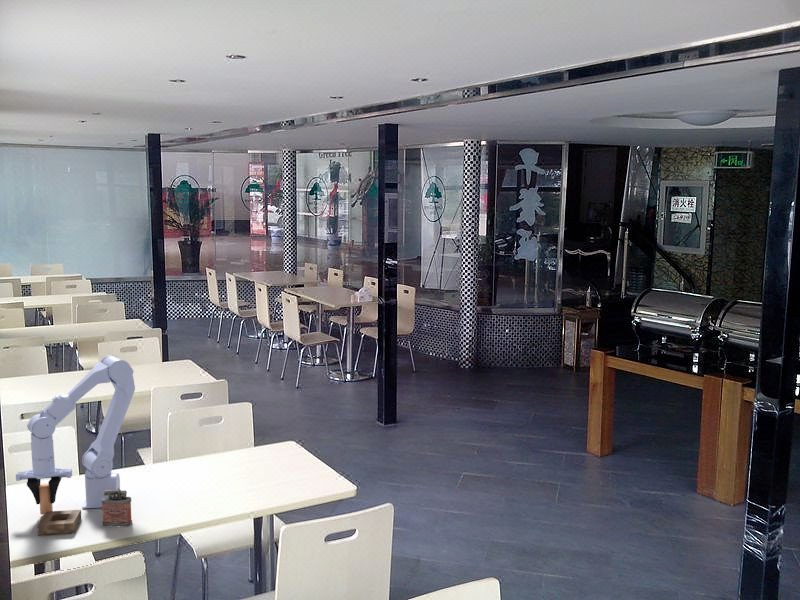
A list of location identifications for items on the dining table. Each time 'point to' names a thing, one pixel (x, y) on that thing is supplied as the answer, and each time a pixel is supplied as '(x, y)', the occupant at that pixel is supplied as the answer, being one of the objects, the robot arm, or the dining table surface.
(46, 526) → the hole block
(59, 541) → the dining table surface
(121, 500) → the lighter
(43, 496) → the pin
